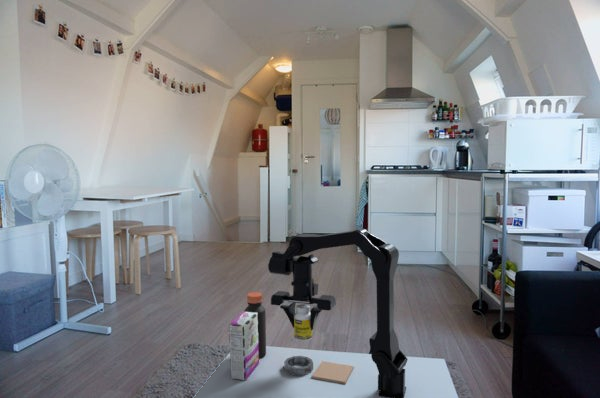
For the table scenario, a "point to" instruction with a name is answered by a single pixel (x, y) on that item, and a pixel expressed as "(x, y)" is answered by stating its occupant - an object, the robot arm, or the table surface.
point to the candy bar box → (244, 345)
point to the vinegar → (255, 306)
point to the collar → (299, 370)
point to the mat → (333, 372)
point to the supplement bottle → (302, 323)
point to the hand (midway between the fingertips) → (303, 328)
